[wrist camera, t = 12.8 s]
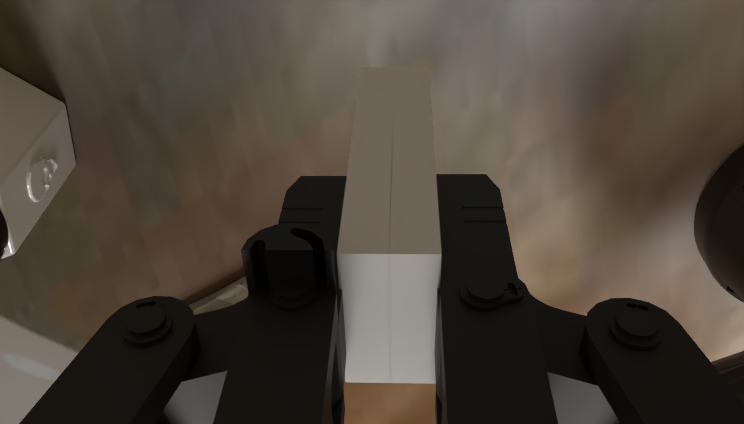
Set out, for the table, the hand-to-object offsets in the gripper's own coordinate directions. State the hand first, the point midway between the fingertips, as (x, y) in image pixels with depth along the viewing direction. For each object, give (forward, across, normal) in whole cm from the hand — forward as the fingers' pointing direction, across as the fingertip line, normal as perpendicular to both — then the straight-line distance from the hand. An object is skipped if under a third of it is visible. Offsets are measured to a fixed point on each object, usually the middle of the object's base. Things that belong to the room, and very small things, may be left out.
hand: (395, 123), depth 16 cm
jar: (+24, +25, +13) cm, 37 cm away
